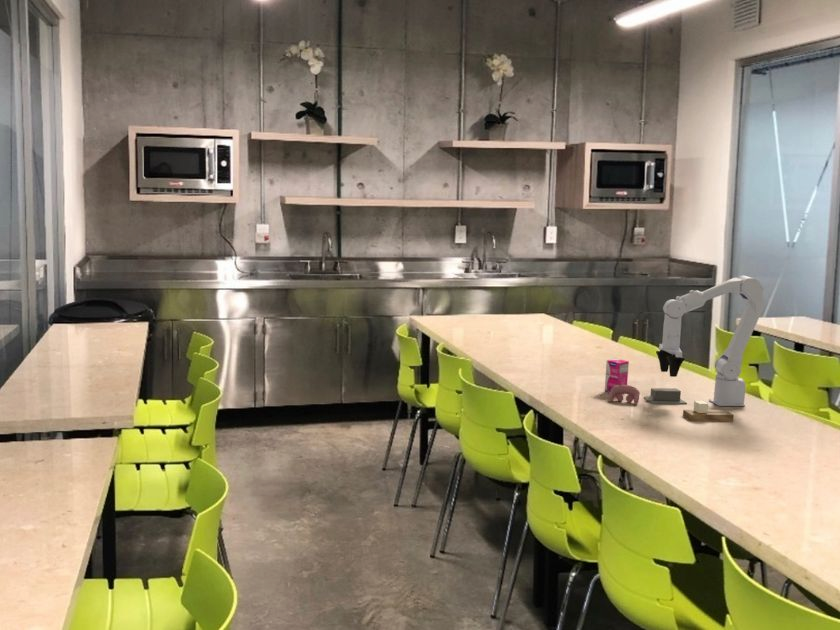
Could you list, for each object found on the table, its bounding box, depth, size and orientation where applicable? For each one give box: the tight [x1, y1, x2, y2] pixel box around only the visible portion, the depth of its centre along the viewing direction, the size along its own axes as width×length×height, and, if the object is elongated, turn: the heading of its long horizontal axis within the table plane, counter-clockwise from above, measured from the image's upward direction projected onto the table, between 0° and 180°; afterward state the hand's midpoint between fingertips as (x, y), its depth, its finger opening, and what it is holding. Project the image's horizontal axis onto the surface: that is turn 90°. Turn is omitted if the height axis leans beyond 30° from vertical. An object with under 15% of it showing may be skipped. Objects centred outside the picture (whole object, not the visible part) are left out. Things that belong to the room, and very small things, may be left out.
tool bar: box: [645, 387, 682, 401], centre depth 289 cm, size 11×4×4 cm, turn 96°
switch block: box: [682, 409, 734, 422], centre depth 268 cm, size 14×6×2 cm, turn 97°
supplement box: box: [604, 358, 630, 393], centre depth 300 cm, size 6×6×12 cm
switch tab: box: [693, 400, 709, 413], centre depth 268 cm, size 3×4×3 cm
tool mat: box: [643, 396, 688, 405], centre depth 289 cm, size 12×8×1 cm, turn 97°
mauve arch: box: [608, 384, 641, 406], centre depth 286 cm, size 10×5×7 cm, turn 67°
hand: (668, 374), depth 289 cm, fingers open, 7 cm apart
